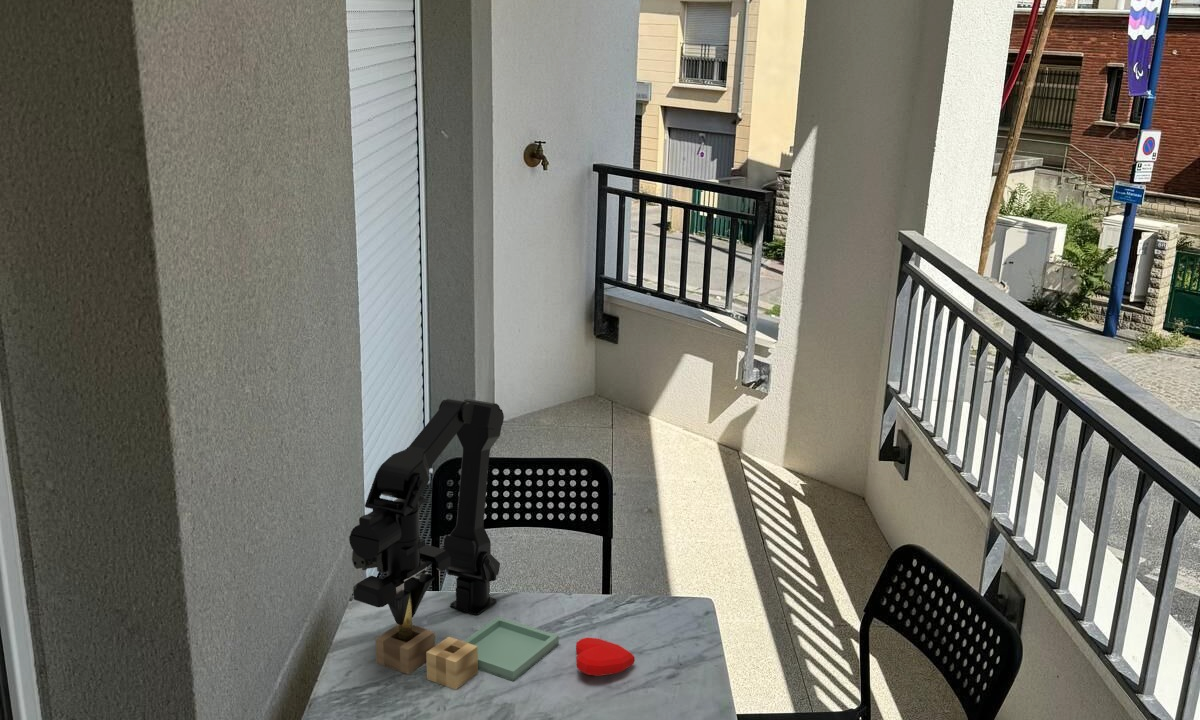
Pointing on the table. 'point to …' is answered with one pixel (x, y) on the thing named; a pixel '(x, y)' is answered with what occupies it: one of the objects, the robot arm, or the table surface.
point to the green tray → (510, 647)
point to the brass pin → (406, 623)
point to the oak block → (452, 662)
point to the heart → (601, 657)
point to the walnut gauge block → (404, 649)
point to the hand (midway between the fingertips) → (404, 620)
